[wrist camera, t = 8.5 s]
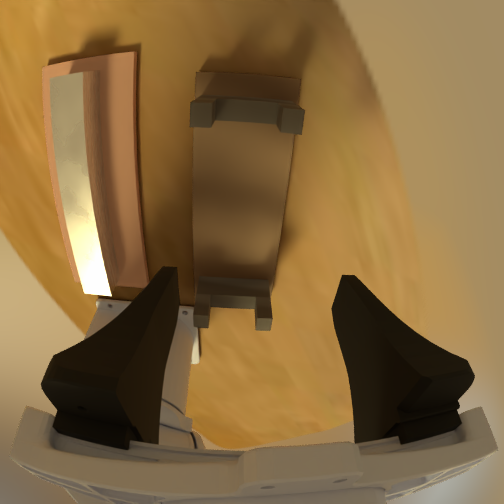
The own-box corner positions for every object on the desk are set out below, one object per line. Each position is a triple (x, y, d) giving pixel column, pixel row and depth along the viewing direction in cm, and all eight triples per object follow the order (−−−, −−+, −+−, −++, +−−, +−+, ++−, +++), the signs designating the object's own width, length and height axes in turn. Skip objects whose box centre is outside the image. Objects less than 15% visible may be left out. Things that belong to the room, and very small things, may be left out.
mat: (77, 277, 25) (75, 281, 24) (46, 66, 15) (42, 67, 14) (149, 283, 25) (148, 288, 25) (137, 51, 15) (134, 51, 15)
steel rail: (120, 276, 24) (111, 296, 22) (94, 274, 24) (84, 293, 22) (100, 69, 15) (82, 71, 13) (68, 74, 15) (49, 78, 13)
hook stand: (268, 295, 26) (273, 343, 22) (196, 291, 26) (189, 340, 21) (297, 78, 17) (317, 83, 12) (199, 71, 16) (183, 73, 12)
